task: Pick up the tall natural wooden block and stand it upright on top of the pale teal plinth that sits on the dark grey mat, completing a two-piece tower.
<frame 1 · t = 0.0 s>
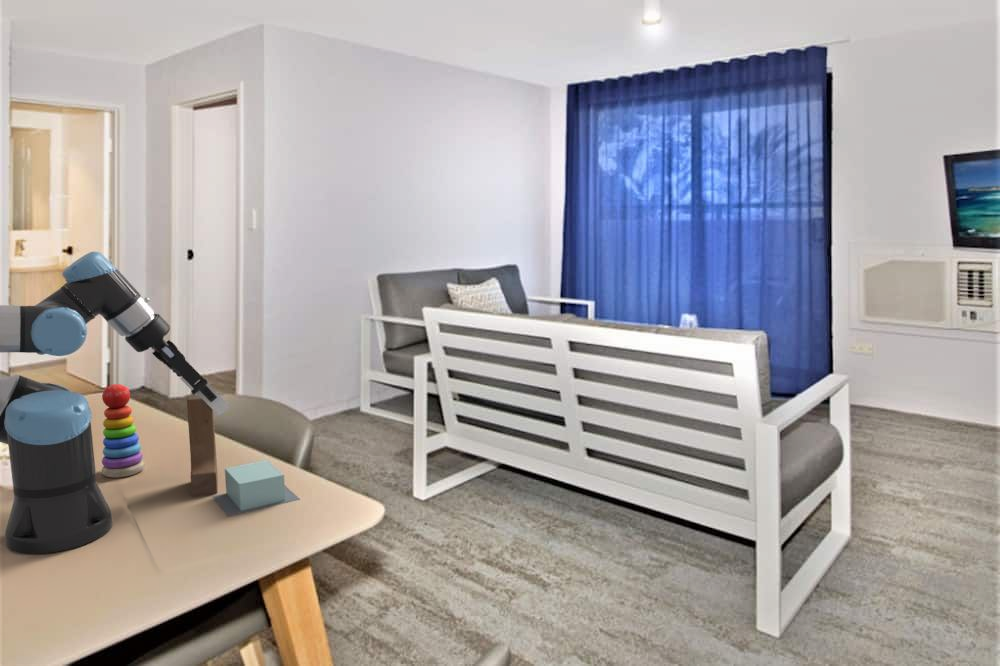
hand: (215, 403, 143), 15 cm above the table, tool tilted 35°, fingers open, 13 cm apart
wooden block: (205, 490, 138), on the table, touching gripper
stacking toy: (124, 473, 148), on the table
mat: (256, 500, 133), on the table
plinth: (255, 496, 133), point 1 cm above the table, touching mat
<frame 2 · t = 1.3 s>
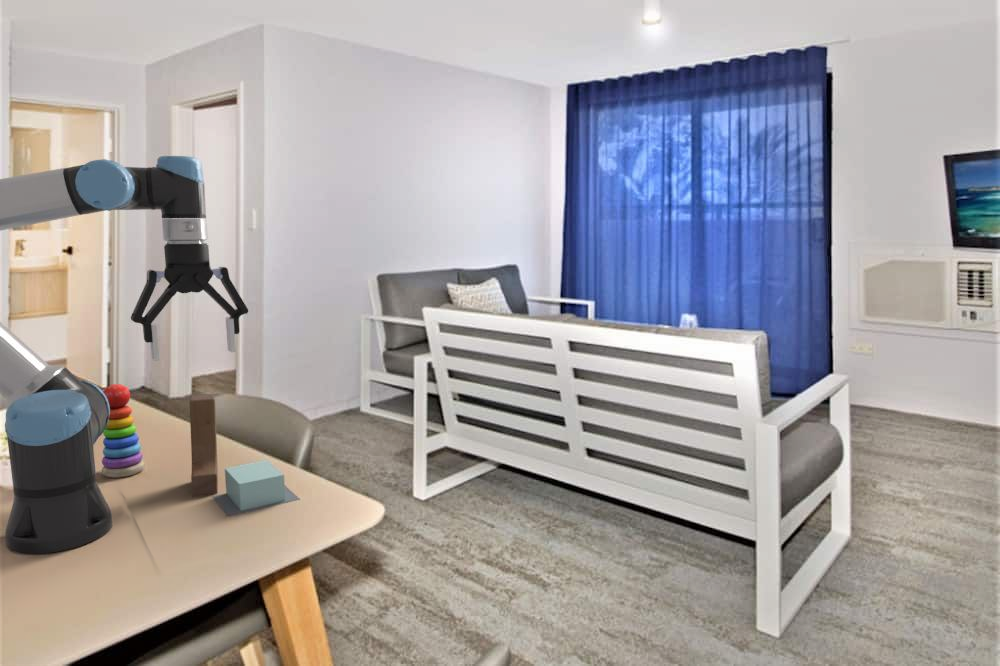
hand: (194, 355, 134), 27 cm above the table, tool pointing down, fingers open, 13 cm apart
wooden block: (205, 490, 138), on the table
everything else where it was.
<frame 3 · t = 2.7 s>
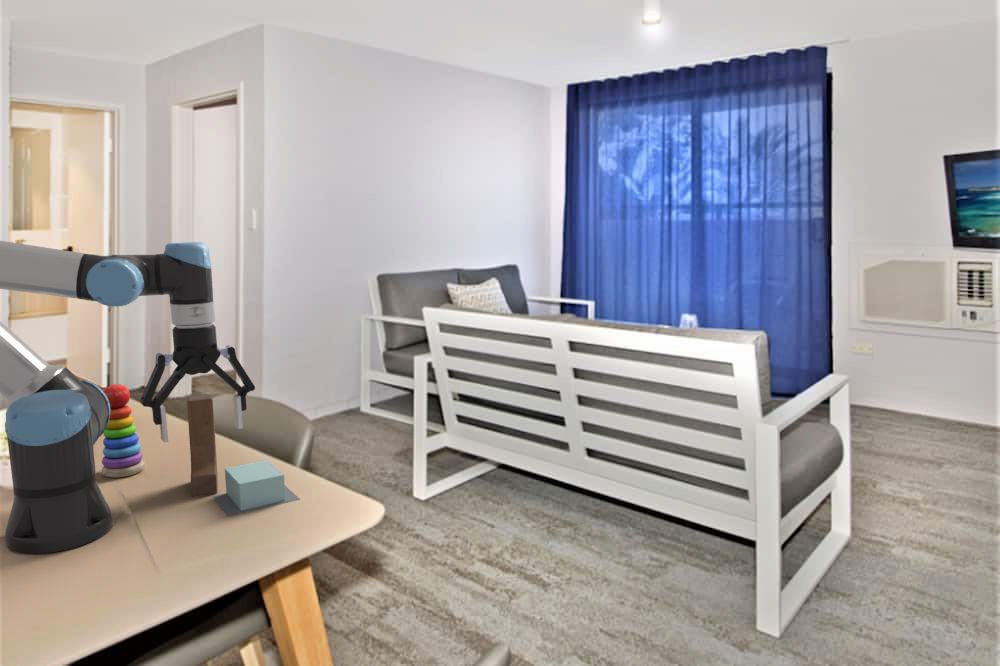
hand: (202, 433, 136), 11 cm above the table, tool pointing down, fingers open, 13 cm apart
nothing on the table moved.
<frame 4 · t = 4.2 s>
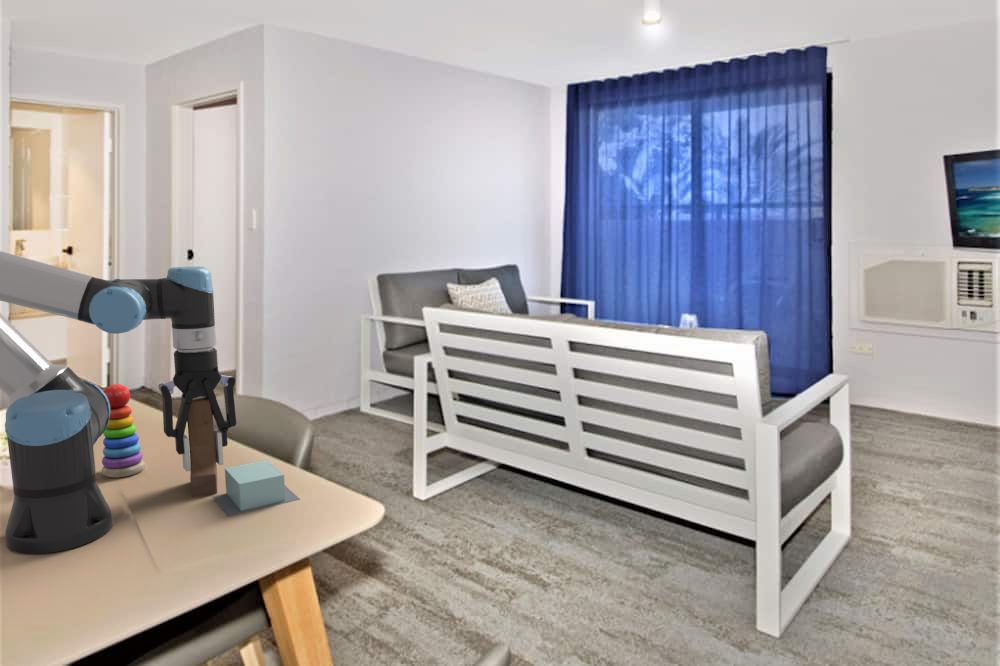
hand: (203, 465, 137), 5 cm above the table, tool pointing down, fingers closed on wooden block, 5 cm apart
wooden block: (205, 490, 138), on the table, touching gripper
everything else where it was.
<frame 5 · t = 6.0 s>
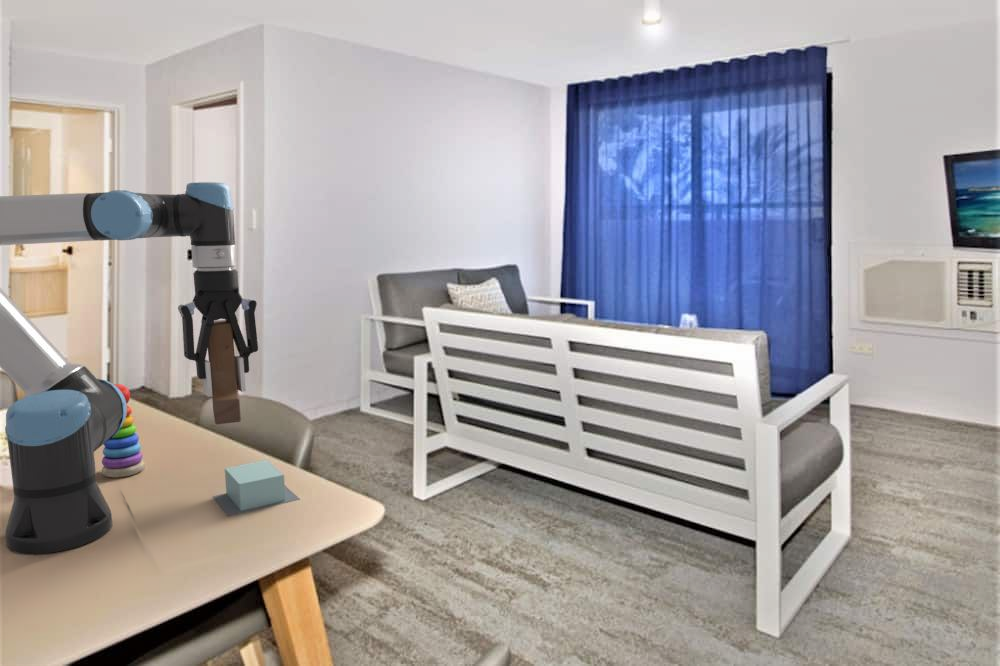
hand: (225, 392, 133), 20 cm above the table, tool pointing down, fingers closed on wooden block, 5 cm apart
wooden block: (227, 418, 133), point 15 cm above the table, touching gripper
everything else where it was.
when the fingers open (11 cm above the table, at t = 8.2 s): wooden block stays where it is, resting on plinth.
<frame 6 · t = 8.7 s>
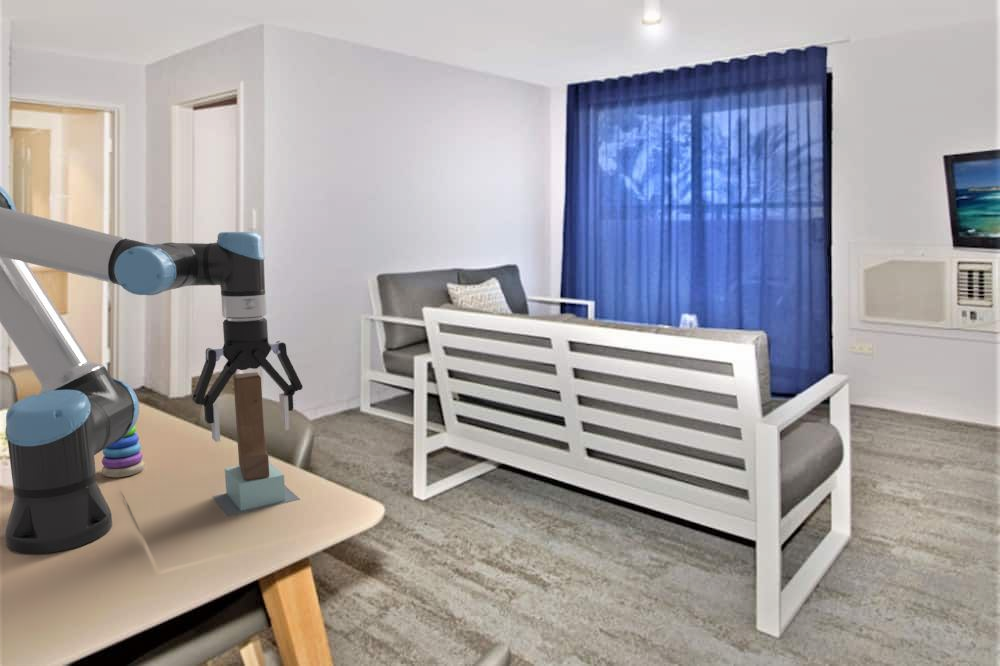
hand: (251, 433, 131), 13 cm above the table, tool pointing down, fingers open, 12 cm apart
wooden block: (254, 472, 132), point 5 cm above the table, touching plinth
plinth: (255, 496, 133), point 1 cm above the table, touching mat, wooden block
everything else where it was.
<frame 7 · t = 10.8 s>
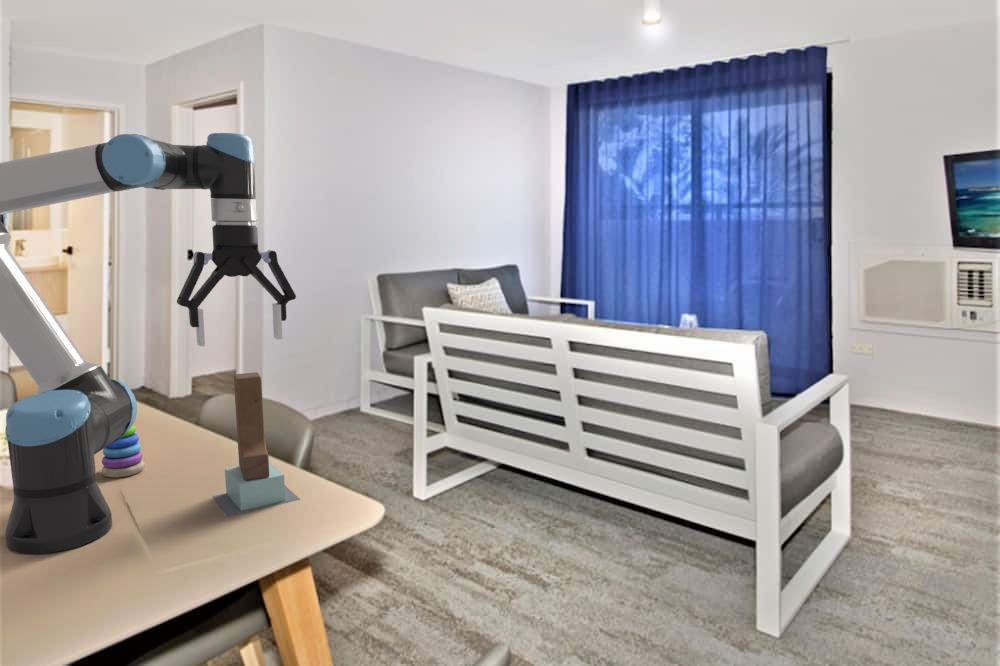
hand: (240, 341, 129), 30 cm above the table, tool pointing down, fingers open, 13 cm apart
nothing on the table moved.
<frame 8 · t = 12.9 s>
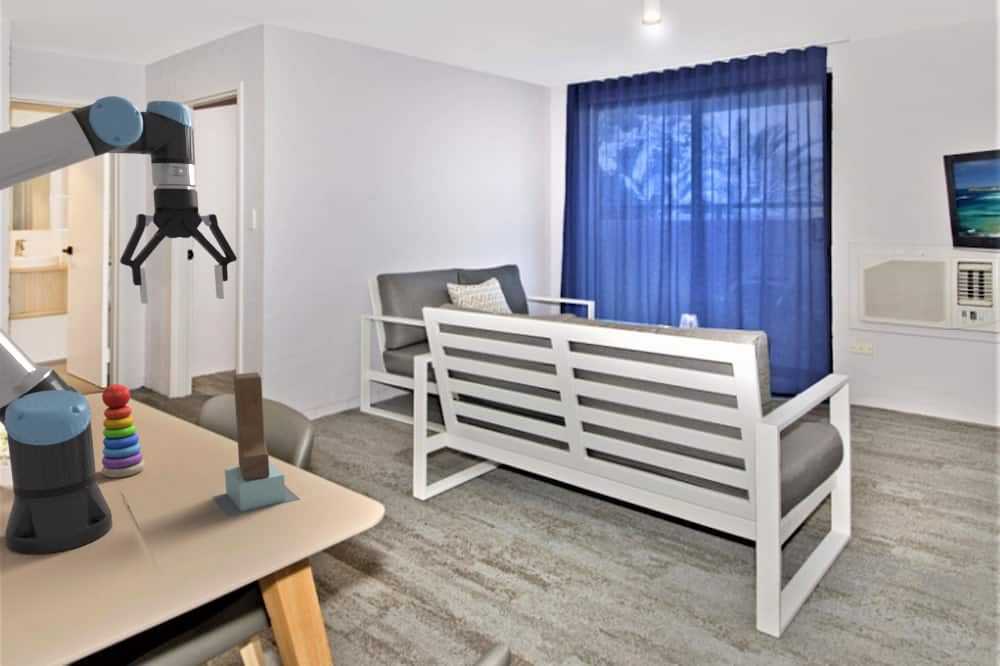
hand: (183, 300, 136), 37 cm above the table, tool pointing down, fingers open, 13 cm apart
nothing on the table moved.
at the end: wooden block inside the target area on the plinth (0.2 cm from its centre), point 4.8 cm above the plinth's base; wooden block tilted 0°; the gripper is holding nothing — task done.
